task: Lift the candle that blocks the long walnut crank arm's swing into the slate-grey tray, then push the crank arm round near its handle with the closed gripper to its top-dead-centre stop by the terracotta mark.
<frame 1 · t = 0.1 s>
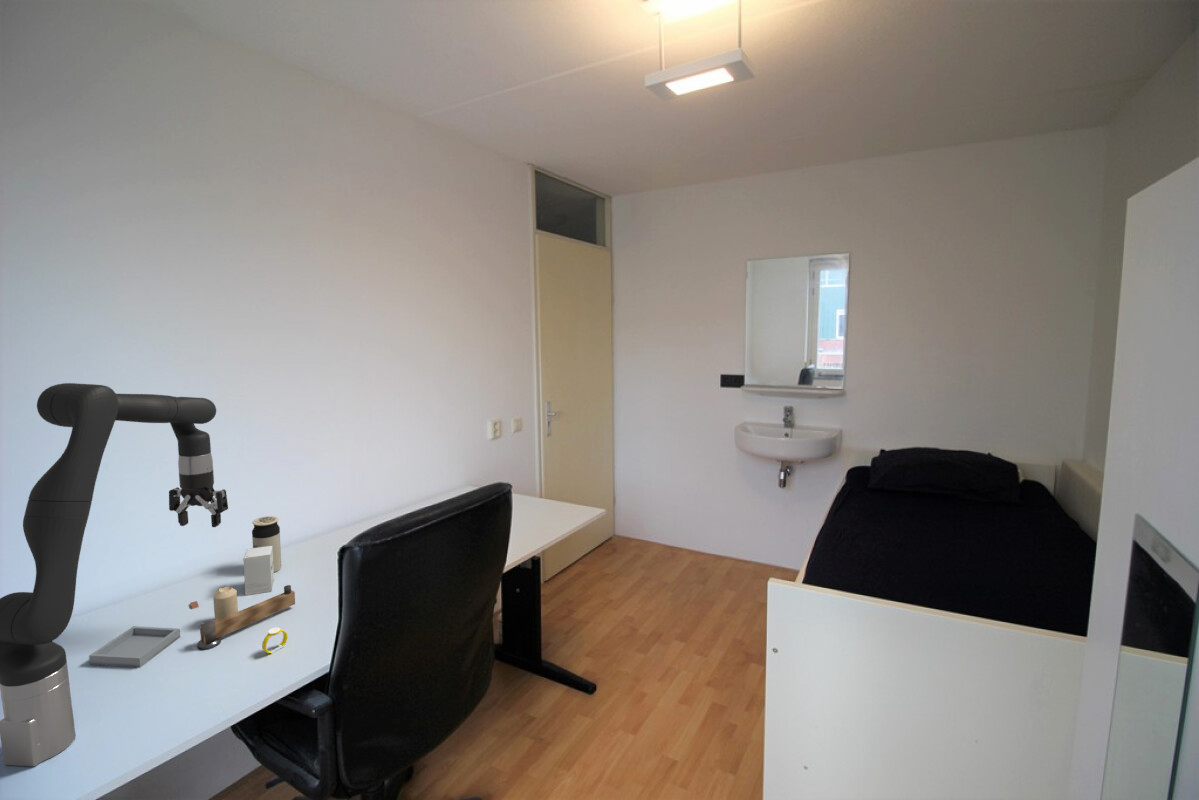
hand: (200, 525, 148), 29 cm above the table, fingers open, 8 cm apart
supplement box: (260, 588, 171), on the table
watch: (275, 651, 142), on the table
crank lever: (250, 611, 151), point 4 cm above the table, hinge at -30.0°
crank base: (209, 644, 143), on the table
tray: (137, 650, 139), on the table
travel mug: (268, 570, 183), on the table
candle: (226, 621, 153), on the table
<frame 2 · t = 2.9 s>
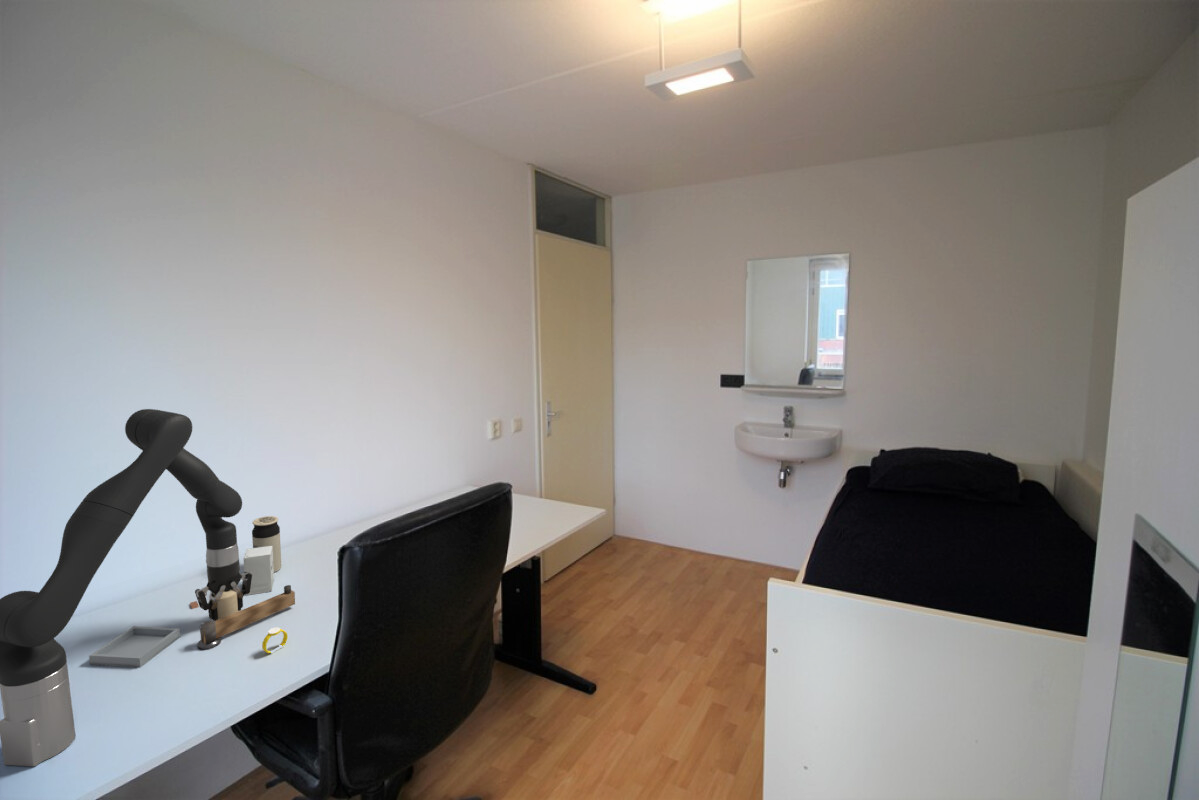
hand: (226, 614, 153), 2 cm above the table, fingers closed on candle, 5 cm apart
candle: (226, 621, 153), on the table, touching gripper
everything else where it was.
when the fingers open (4 cm above the table, at t = 9.8 s): candle drops 1 cm, resting on tray.
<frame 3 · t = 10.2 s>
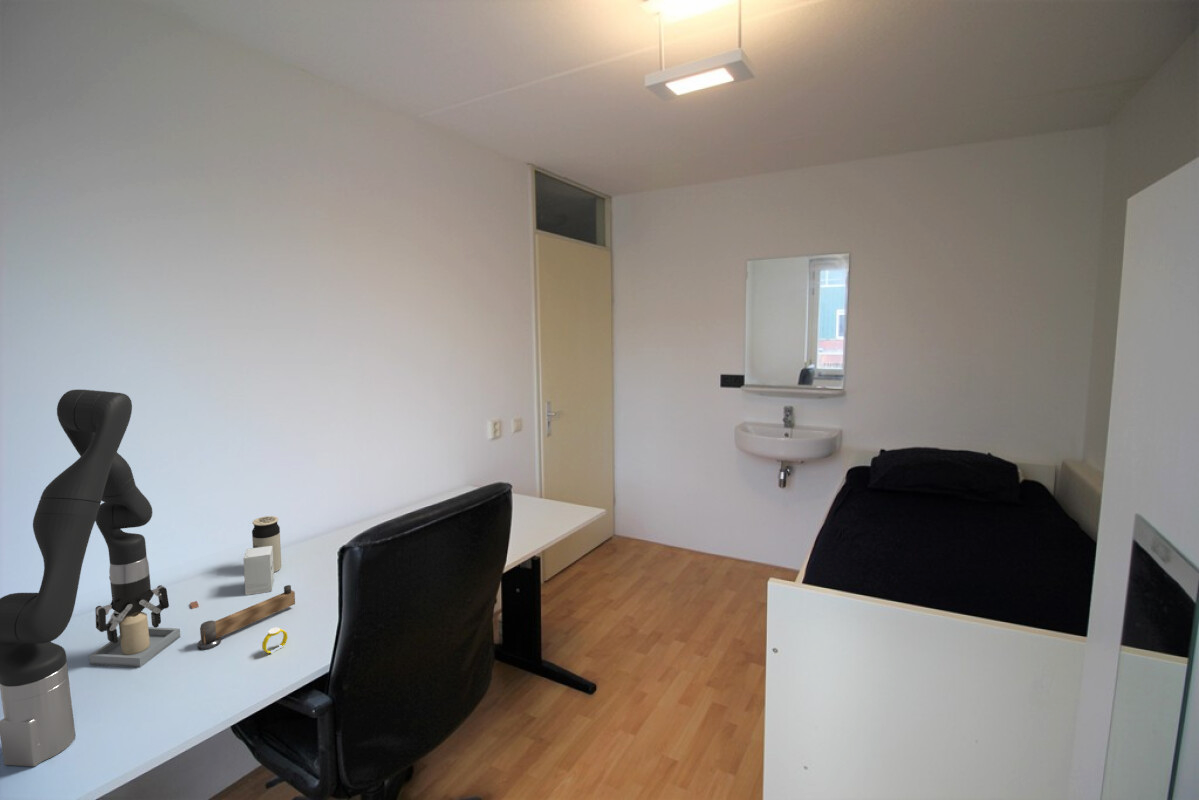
hand: (135, 633, 138), 5 cm above the table, fingers open, 8 cm apart
candle: (136, 649, 138), resting on tray
everything else where it was.
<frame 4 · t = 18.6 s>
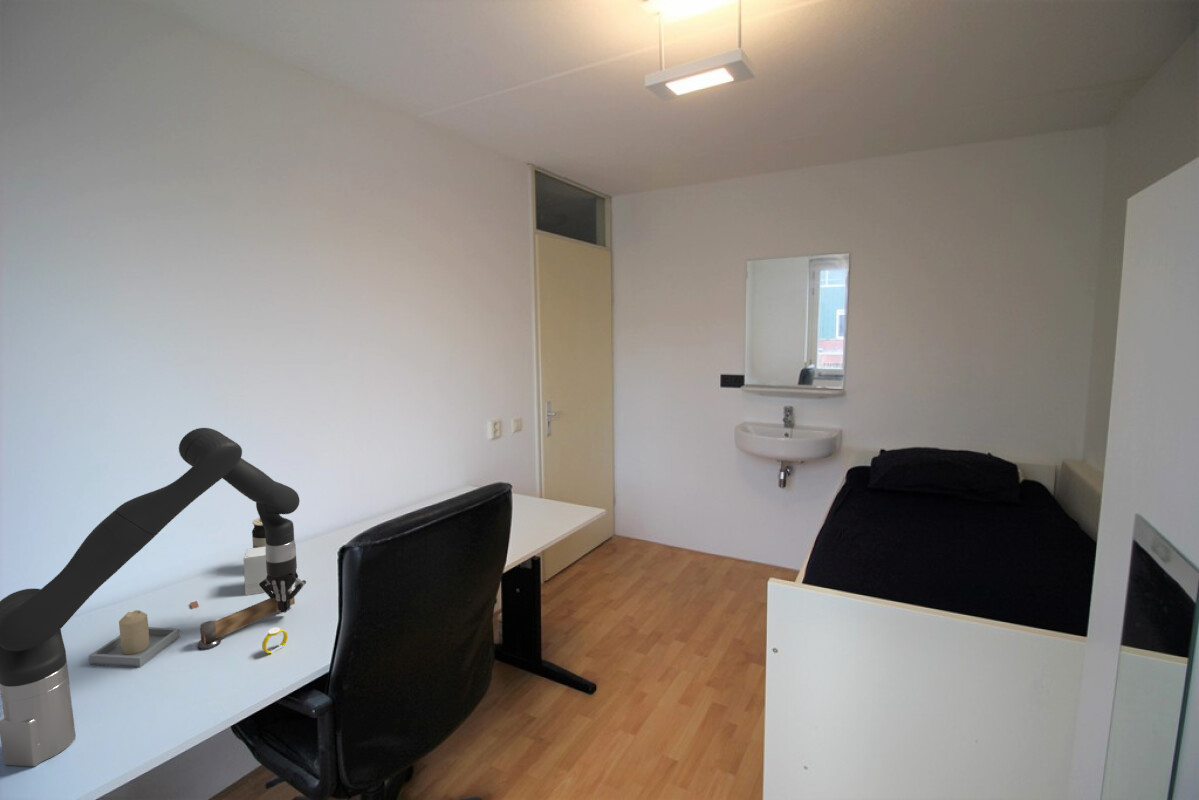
hand: (284, 610, 156), 2 cm above the table, fingers closed
crank lever: (250, 611, 151), point 4 cm above the table, hinge at -29.4°, touching gripper
everything else where it was.
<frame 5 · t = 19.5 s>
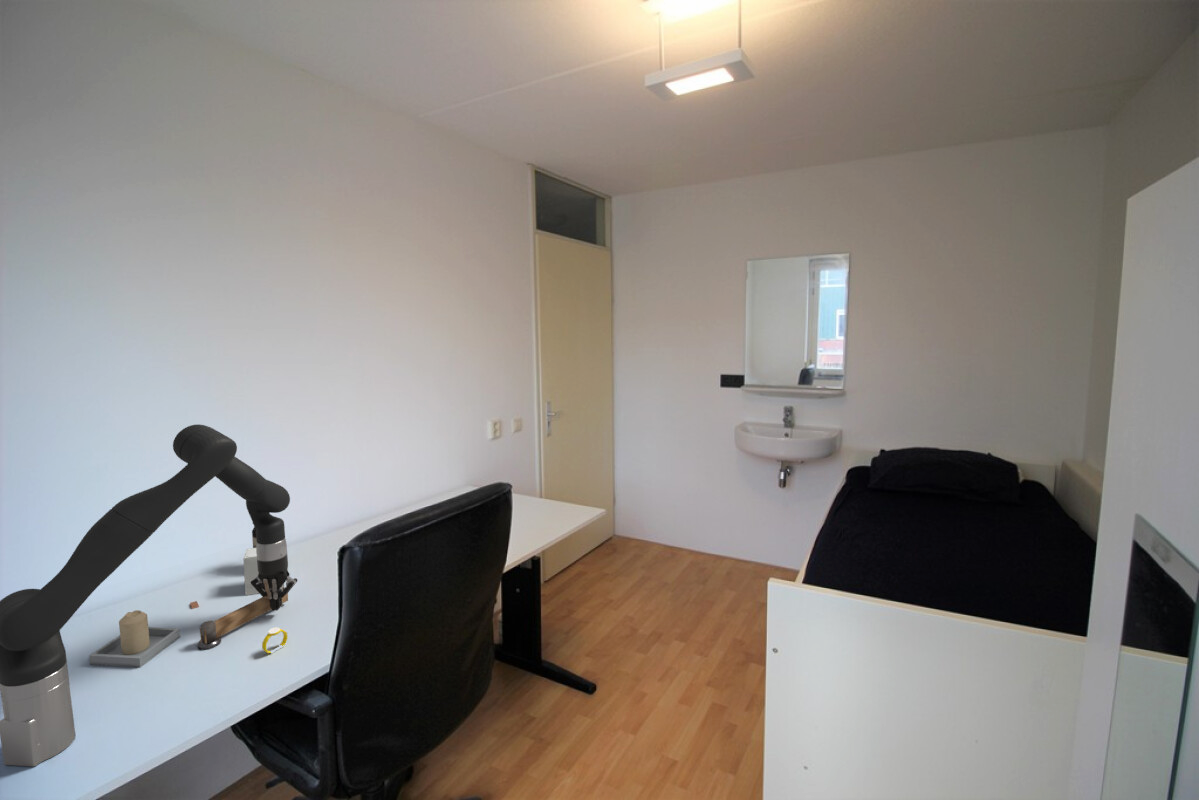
hand: (276, 608, 156), 2 cm above the table, fingers closed
crank lever: (246, 610, 152), point 4 cm above the table, hinge at -21.0°
everything else where it was.
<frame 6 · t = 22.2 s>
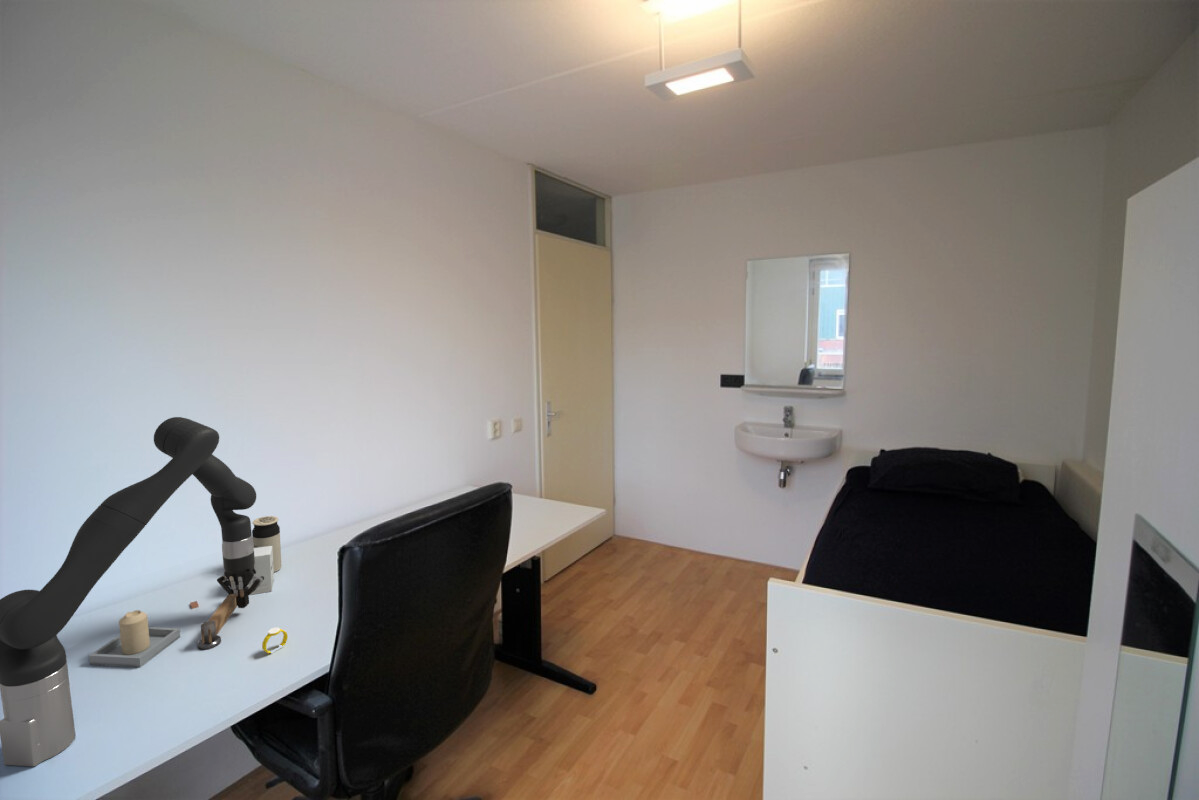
hand: (243, 606, 157), 2 cm above the table, fingers closed
crank lever: (224, 608, 152), point 4 cm above the table, hinge at 16.0°, touching gripper
everything else where it was.
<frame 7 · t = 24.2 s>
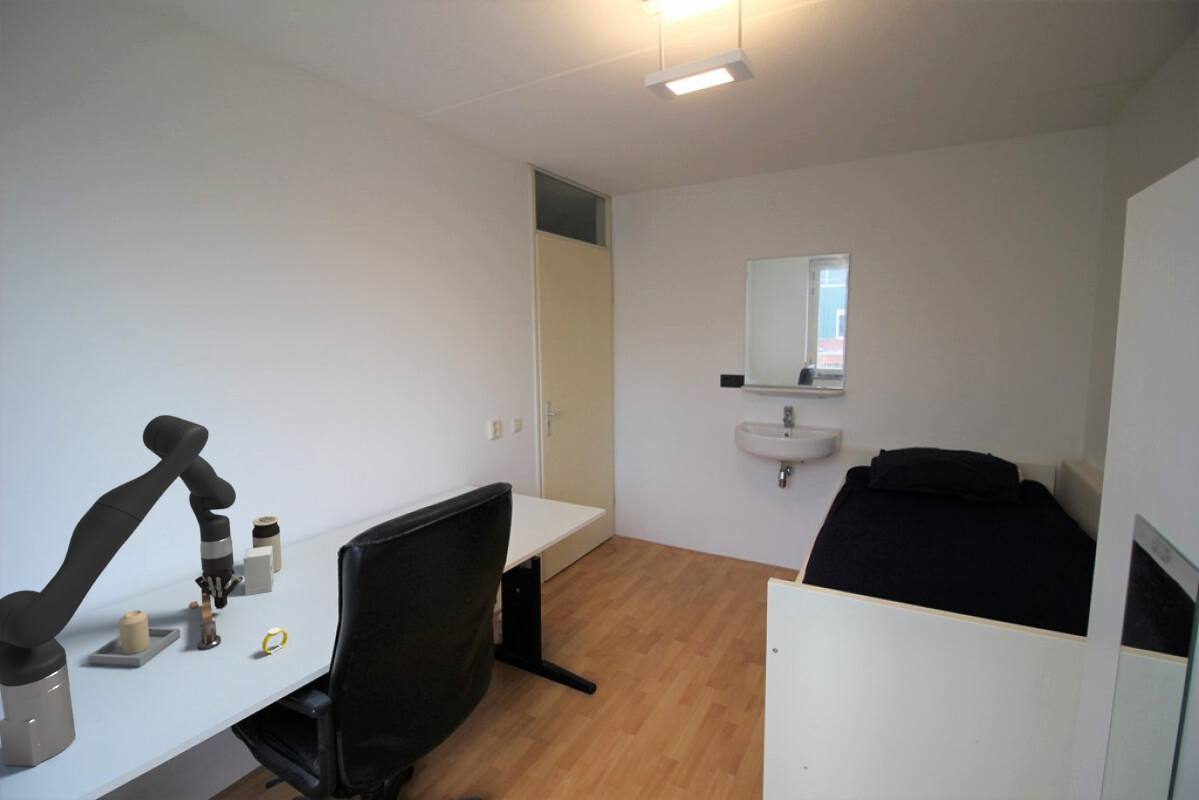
hand: (221, 607, 156), 2 cm above the table, fingers closed
crank lever: (207, 611, 150), point 4 cm above the table, hinge at 38.2°, touching gripper
everything else where it was.
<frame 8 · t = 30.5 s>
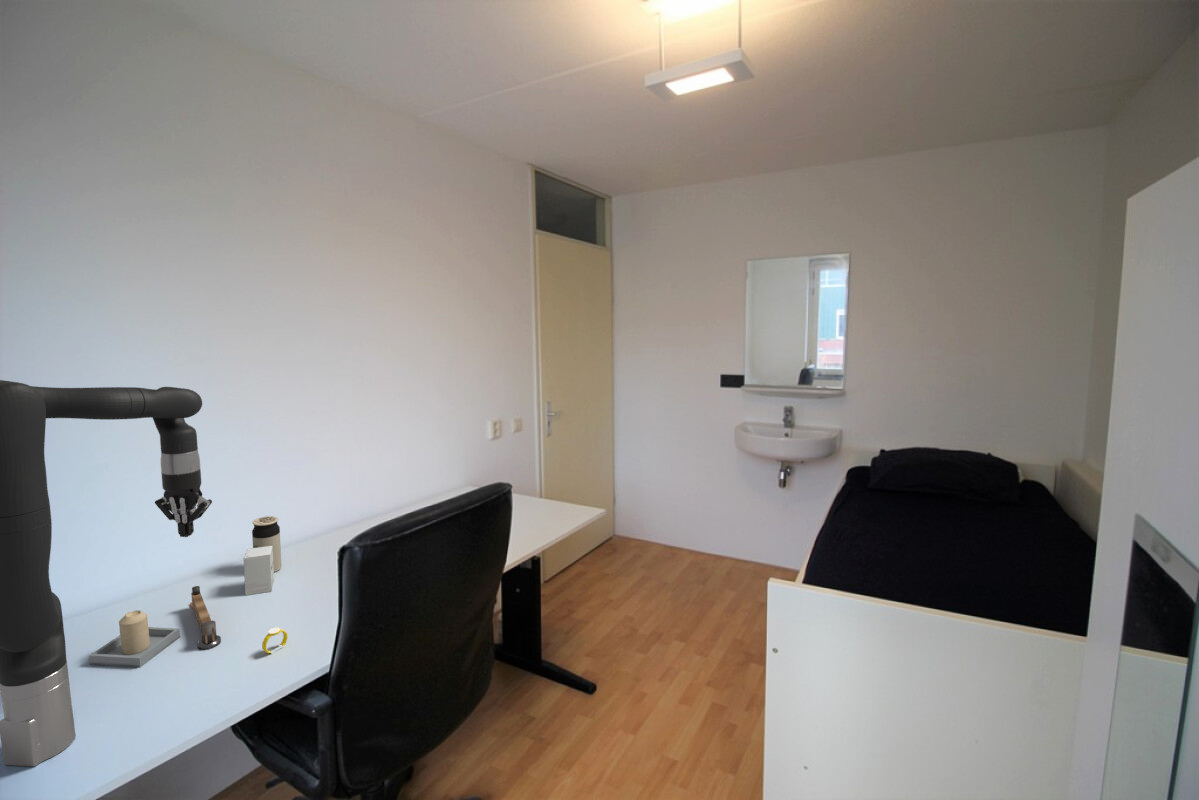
hand: (186, 535, 132), 33 cm above the table, fingers closed
crank lever: (202, 612, 149), point 4 cm above the table, hinge at 44.3°
everything else where it was.
at the end: candle inside the target area on the tray (0.2 cm from its centre), point 0.4 cm above the tray's base; candle tilted 0°; crank lever at +44° (first picture: -30°) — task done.
